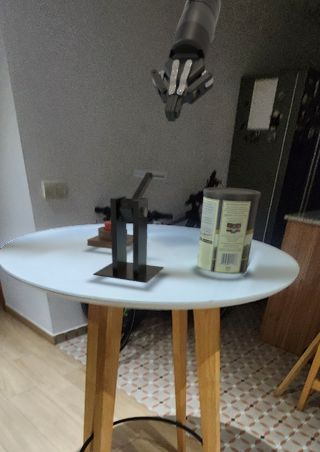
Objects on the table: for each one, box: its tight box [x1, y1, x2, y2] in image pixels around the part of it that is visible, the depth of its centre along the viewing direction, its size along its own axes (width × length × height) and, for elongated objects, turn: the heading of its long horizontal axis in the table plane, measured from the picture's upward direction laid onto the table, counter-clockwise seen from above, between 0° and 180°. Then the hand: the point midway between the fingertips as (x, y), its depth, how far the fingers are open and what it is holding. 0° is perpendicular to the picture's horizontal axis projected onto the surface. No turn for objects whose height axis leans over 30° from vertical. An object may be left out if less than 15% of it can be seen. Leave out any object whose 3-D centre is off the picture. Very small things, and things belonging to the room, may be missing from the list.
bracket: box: [92, 195, 164, 284], centre depth 64 cm, size 10×10×13 cm
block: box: [86, 225, 133, 250], centre depth 84 cm, size 8×10×4 cm
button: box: [104, 220, 111, 231], centre depth 83 cm, size 4×4×2 cm
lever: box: [119, 169, 168, 224], centre depth 64 cm, size 13×6×2 cm, turn 162°
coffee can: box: [196, 186, 262, 277], centre depth 70 cm, size 10×10×14 cm
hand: (170, 117), depth 70 cm, fingers closed
